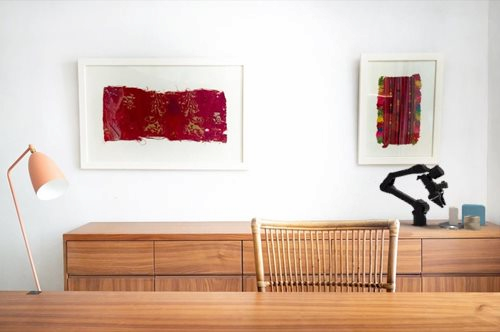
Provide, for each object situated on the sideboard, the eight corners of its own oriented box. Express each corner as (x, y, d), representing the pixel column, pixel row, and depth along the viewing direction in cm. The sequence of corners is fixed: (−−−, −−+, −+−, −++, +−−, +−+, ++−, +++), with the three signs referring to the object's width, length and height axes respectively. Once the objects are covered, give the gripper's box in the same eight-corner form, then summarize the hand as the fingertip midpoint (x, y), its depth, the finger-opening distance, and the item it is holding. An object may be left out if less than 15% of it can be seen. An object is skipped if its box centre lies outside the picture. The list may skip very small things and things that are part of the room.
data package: (483, 224, 254) (483, 204, 253) (485, 225, 249) (485, 205, 249) (461, 223, 257) (461, 204, 257) (462, 224, 253) (462, 204, 253)
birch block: (463, 228, 239) (463, 216, 238) (468, 227, 242) (469, 215, 242) (474, 230, 234) (475, 217, 234) (479, 229, 238) (479, 216, 237)
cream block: (449, 226, 243) (449, 207, 243) (448, 225, 247) (448, 206, 247) (458, 227, 241) (458, 207, 241) (457, 225, 246) (457, 206, 246)
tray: (439, 226, 245) (439, 223, 245) (448, 225, 252) (448, 221, 252) (458, 229, 237) (458, 225, 237) (467, 227, 243) (467, 223, 243)
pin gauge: (441, 226, 244) (440, 228, 243) (441, 224, 244) (439, 226, 243) (459, 228, 236) (458, 230, 235) (458, 226, 236) (457, 228, 235)
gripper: (439, 177, 236) (455, 202, 232) (444, 174, 251) (459, 197, 248) (421, 187, 241) (436, 211, 238) (427, 184, 257) (441, 206, 254)
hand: (444, 206), depth 244 cm, fingers open, 9 cm apart
